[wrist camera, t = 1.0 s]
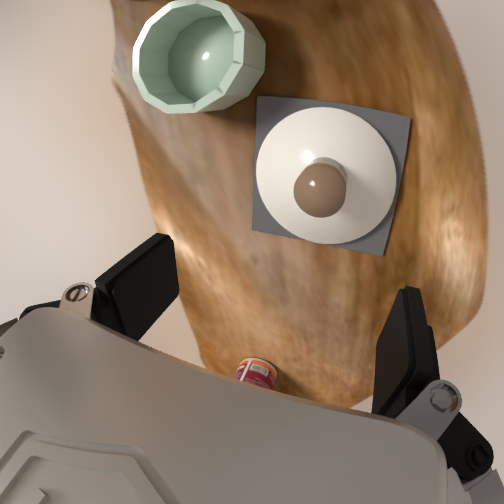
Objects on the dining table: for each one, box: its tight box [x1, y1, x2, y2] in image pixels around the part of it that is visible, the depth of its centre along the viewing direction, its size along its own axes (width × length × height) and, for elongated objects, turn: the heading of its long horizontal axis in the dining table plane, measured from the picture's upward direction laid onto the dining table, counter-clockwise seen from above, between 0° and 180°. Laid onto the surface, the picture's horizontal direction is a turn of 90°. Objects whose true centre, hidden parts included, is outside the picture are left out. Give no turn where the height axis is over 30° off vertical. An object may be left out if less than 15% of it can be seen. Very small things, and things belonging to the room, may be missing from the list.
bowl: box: [132, 0, 266, 114], centre depth 21 cm, size 11×11×6 cm
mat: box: [252, 96, 411, 256], centre depth 25 cm, size 14×14×1 cm
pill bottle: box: [234, 358, 277, 390], centre depth 38 cm, size 6×6×11 cm
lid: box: [256, 107, 396, 244], centre depth 23 cm, size 13×13×5 cm
